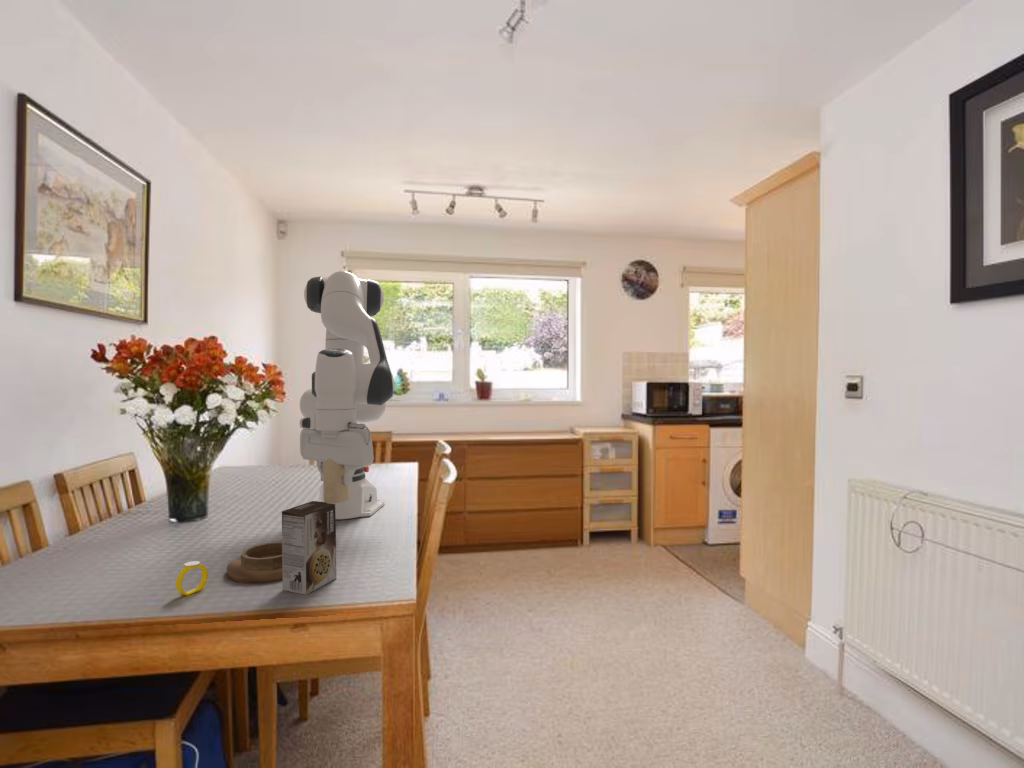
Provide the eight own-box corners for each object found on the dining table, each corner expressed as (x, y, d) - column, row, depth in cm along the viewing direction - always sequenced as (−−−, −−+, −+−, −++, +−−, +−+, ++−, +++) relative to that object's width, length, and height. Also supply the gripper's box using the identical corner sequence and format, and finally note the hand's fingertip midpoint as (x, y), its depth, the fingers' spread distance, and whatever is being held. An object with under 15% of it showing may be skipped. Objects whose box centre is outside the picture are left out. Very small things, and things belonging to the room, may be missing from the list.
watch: (199, 587, 109) (201, 558, 109) (209, 589, 108) (211, 559, 108) (172, 597, 103) (173, 565, 104) (182, 599, 103) (184, 567, 103)
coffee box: (313, 574, 115) (312, 500, 115) (337, 578, 113) (337, 503, 113) (280, 590, 107) (280, 510, 107) (306, 595, 105) (305, 513, 104)
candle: (336, 504, 116) (335, 458, 116) (318, 501, 119) (317, 456, 119) (354, 498, 121) (354, 455, 121) (336, 495, 124) (336, 453, 123)
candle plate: (264, 552, 129) (263, 535, 129) (326, 558, 125) (325, 541, 125) (207, 578, 113) (207, 559, 113) (277, 587, 109) (276, 567, 109)
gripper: (380, 422, 117) (380, 485, 117) (317, 417, 127) (317, 475, 128) (358, 425, 112) (358, 491, 112) (294, 419, 122) (295, 480, 123)
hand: (336, 482), depth 120 cm, fingers closed on candle, 5 cm apart
